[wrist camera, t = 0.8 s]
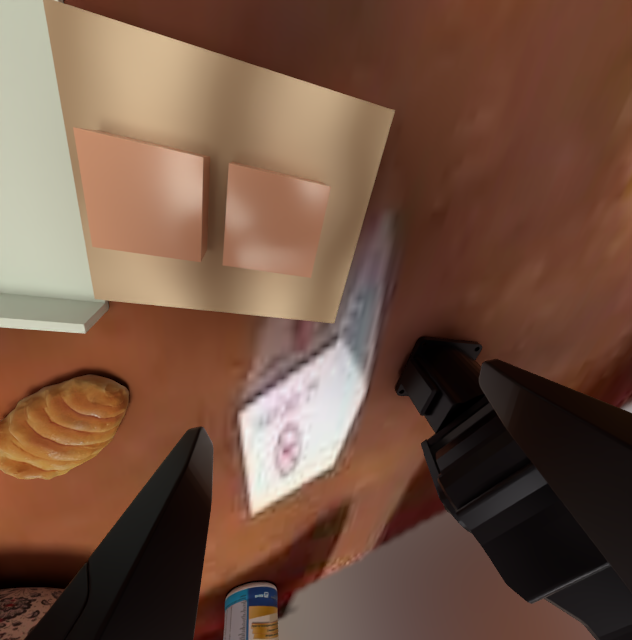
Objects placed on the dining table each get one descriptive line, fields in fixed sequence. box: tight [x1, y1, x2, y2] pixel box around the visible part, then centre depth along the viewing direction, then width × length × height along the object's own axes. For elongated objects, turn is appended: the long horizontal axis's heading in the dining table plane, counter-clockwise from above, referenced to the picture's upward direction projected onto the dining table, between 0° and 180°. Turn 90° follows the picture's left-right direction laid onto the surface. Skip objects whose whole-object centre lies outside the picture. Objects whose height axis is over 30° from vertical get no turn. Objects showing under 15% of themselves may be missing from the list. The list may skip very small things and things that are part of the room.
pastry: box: [0, 374, 129, 479], centre depth 21 cm, size 9×7×4 cm
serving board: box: [43, 0, 395, 323], centre depth 16 cm, size 14×12×2 cm
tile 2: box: [73, 127, 210, 262], centre depth 13 cm, size 4×4×2 cm
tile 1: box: [223, 162, 331, 278], centre depth 14 cm, size 4×4×2 cm
